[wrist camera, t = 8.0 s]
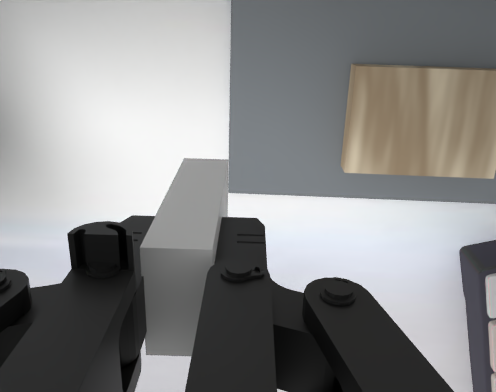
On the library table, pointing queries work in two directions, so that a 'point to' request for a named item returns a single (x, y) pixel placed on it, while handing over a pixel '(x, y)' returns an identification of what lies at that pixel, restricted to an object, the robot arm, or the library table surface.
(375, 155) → the tile
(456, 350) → the library table surface
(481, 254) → the black red flat box
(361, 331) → the robot arm
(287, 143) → the mat
